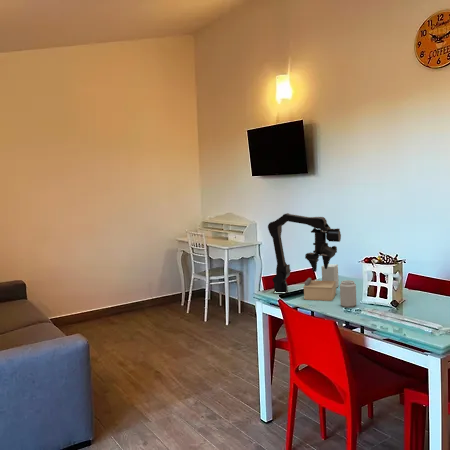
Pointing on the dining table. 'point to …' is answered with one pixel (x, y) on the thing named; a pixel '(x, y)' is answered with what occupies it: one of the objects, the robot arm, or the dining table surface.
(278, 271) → the robot arm
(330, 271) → the supplement box
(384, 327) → the dining table surface
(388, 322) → the dining table surface
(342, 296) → the can
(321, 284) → the lid
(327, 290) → the mailer box
